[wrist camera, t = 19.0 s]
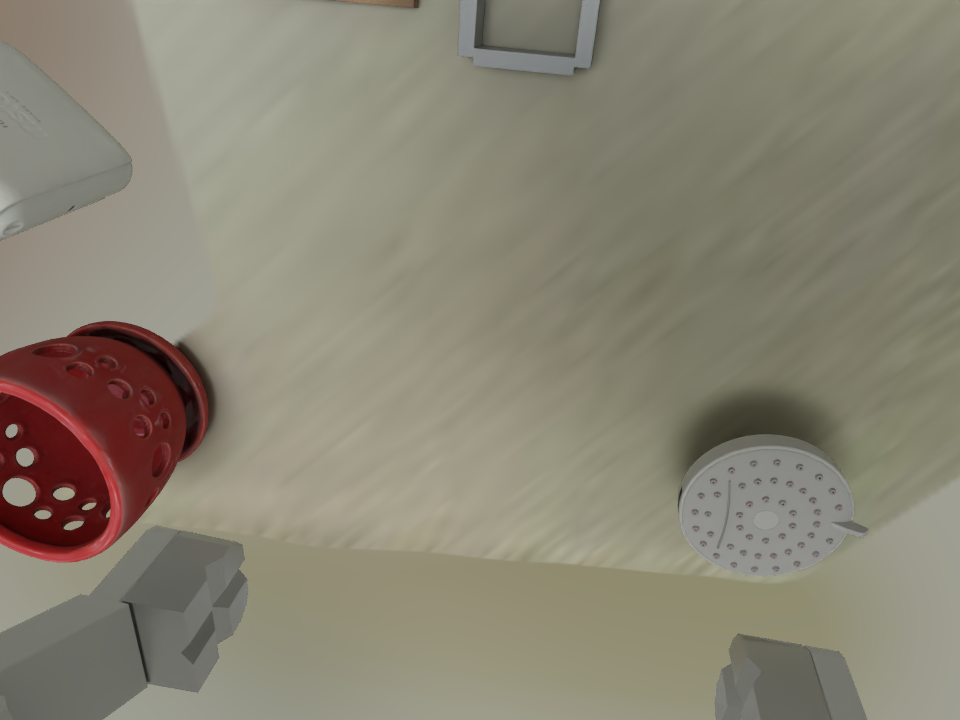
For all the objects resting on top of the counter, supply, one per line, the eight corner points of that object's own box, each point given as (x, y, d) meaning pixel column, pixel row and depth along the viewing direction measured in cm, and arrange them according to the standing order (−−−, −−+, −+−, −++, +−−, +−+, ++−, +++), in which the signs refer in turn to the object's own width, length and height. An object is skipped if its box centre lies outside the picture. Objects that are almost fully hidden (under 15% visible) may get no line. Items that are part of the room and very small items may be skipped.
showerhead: (850, 598, 40) (672, 580, 41) (816, 516, 46) (663, 503, 47) (891, 465, 35) (690, 450, 37) (848, 395, 42) (678, 384, 43)
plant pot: (245, 353, 48) (143, 452, 37) (200, 481, 54) (101, 597, 43) (71, 265, 47) (-86, 341, 36) (45, 406, 53) (-94, 506, 42)
